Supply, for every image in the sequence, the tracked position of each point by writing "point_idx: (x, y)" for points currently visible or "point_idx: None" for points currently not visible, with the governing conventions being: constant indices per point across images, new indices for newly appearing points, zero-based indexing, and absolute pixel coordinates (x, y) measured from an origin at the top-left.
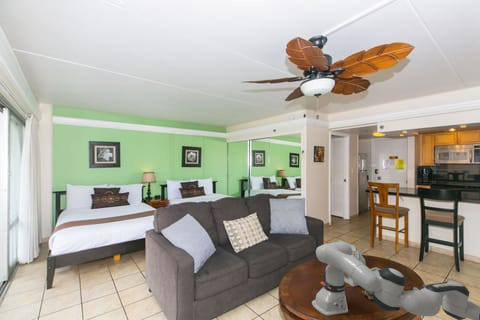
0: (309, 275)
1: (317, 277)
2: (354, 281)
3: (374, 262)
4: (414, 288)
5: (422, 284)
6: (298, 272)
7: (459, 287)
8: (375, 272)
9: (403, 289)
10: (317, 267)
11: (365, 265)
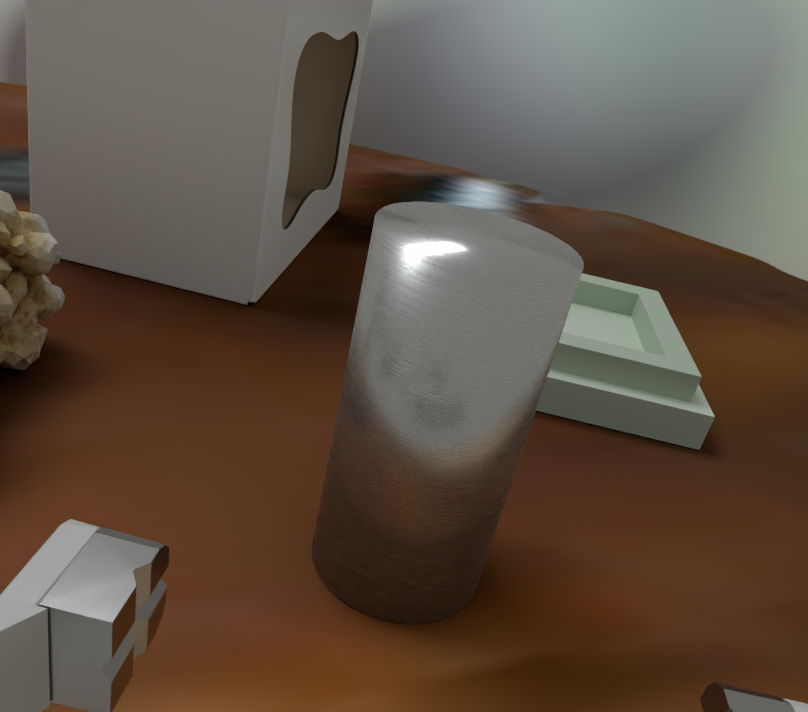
0: (4, 114)
1: (9, 132)
2: (48, 194)
3: (793, 321)
4: (50, 562)
5: (711, 690)
6: (3, 91)
7: None
8: None
9: (414, 555)
10: None
11: (277, 58)
